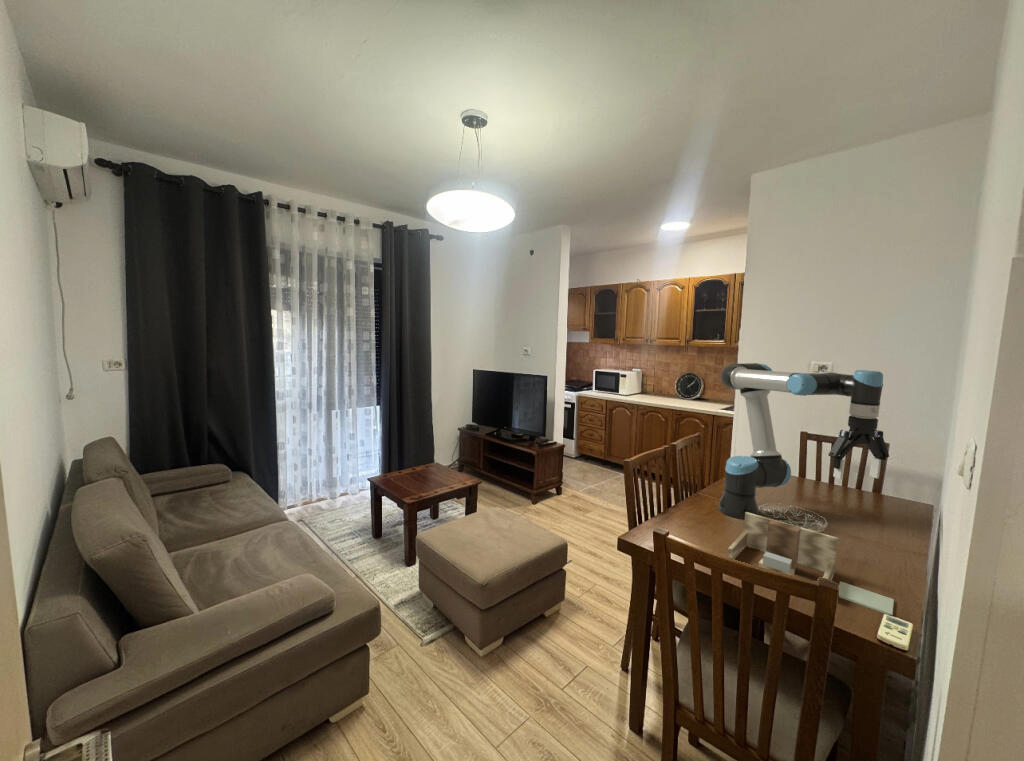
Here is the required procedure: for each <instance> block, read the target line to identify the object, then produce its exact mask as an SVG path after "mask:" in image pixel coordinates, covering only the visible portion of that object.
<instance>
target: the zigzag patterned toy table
mask: <svg viewBox="0 0 1024 761" xmlns="http://www.w3.org/2000/svg"><path fill="white" fill-rule="evenodd" d="M771 520H775V521H779V520H776V519H773V518H770V517H765V516H763V515H760V514H759V515H755V514H752V513H748V512H746V513H745V519H744V521H743V522H744V523H743V524H744V525H743V532H742V533H741V534H740V535H738V537H737V538H736V539H735V540H734V541H733V542H732V544H731V545H729V546H728V548H727V558H732V559H735V560H736V559H737V558H735V557H739V555H740V554H741V553H742V552H743V551H744V550H745V548H747V546H748V548H751V549H754V550H756V549H757V551H759V550H760V552H762V551H763V553H765V552H766V547H767V536H768V525H769V522H770V521H771ZM779 522H782V523H786V522H783V521H779ZM786 524H789V525H793V526H796V527H800V528H801V529H800V539H799V550H798V560H797V565H801V566H804V567H808V568H810V569H813V570H816V571H819V572H823V573H824V574H823V576H822V578H826V579H829V580H832V581H833V578H834V575H835V572H836V571H835V569H836V559H837V553H838V552H837V551H838V540H839V538H838V537H837V536H833V535H830V534H829V535H828V534H826V533H822V532H819V531H816V530H812V529H809V528H804V527H802V526H799V525H794V524H790V523H786ZM742 550H743V551H742ZM740 552H741V553H740Z"/></svg>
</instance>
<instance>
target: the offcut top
mask: <svg viewBox="0 0 1024 761" xmlns="http://www.w3.org/2000/svg"><path fill="white" fill-rule="evenodd" d="M762 559H763V565H765V566H768V567H771V568H774V569H777V570H780V571H783V572H786V573H789V572H790V570H791V564H792V560H791V559H788V558H785V557H782V556H779V555H776V554H772V553H769V552H764V553H763V556H762Z"/></svg>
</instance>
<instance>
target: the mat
mask: <svg viewBox="0 0 1024 761" xmlns="http://www.w3.org/2000/svg"><path fill="white" fill-rule="evenodd" d="M838 587H839V597H838V598H841V599H843V600H846V601H848V602H851V603H854V604H857V605H859V606H862V607H865V608H868V609H870V610H873V611H877V612H878V613H881V614H884V613H885V615H887V614H890V615H892V616H893V613H894V603H895V602H894V598H891V597H888V596H884V595H882V594H879V593H876V592H873V591H870V590H867V589H864V588H862V587H859V586H855V585H852V584H849V583H847V582H844V581H839V583H838ZM890 615H889V616H890Z"/></svg>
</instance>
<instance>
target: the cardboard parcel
mask: <svg viewBox="0 0 1024 761" xmlns="http://www.w3.org/2000/svg"><path fill="white" fill-rule="evenodd" d="M775 520H776V519H773V520H771V521H770V522H769V525H768V536H767V547H766V552H769V553H772V554H776V555H779V556H782V557H785V558H788V559H791V560H792V564H791V569H793V570H795V572H794V574H795V573H796V571H797V569H798V563H797V560H798V550H799V539H800V529H801V528H800V527H801V526H798V527H796V526H797V525H794V524H791V525H789V524H790V523H787V524H786V522H784V523H782V522H783V521H780V522H779V520H777V521H775ZM793 525H794V526H793Z"/></svg>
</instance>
